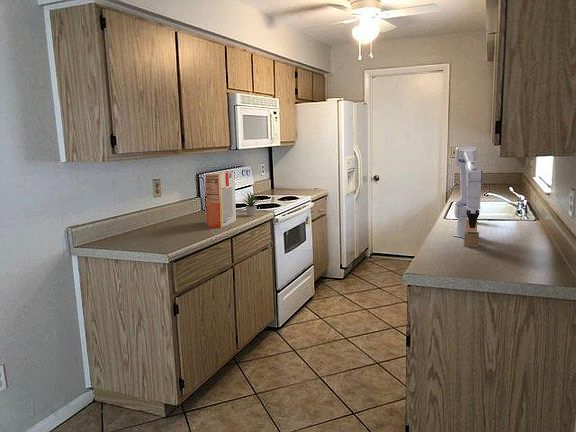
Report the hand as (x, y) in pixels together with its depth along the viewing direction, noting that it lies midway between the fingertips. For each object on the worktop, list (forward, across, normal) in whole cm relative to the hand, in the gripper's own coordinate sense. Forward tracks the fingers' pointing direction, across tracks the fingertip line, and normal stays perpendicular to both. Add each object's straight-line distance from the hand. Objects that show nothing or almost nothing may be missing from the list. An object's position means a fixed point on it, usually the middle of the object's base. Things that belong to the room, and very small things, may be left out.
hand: (472, 226), depth 219 cm
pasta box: (+9, -18, -137) cm, 139 cm away
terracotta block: (+2, 0, 0) cm, 2 cm away
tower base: (+9, 0, 0) cm, 9 cm away
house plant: (+9, -49, -132) cm, 141 cm away
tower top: (+6, 0, 0) cm, 6 cm away
